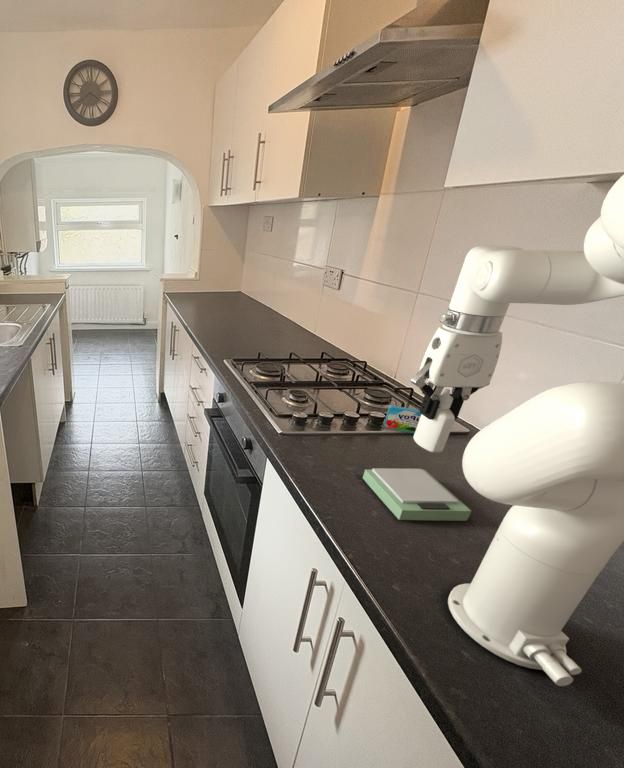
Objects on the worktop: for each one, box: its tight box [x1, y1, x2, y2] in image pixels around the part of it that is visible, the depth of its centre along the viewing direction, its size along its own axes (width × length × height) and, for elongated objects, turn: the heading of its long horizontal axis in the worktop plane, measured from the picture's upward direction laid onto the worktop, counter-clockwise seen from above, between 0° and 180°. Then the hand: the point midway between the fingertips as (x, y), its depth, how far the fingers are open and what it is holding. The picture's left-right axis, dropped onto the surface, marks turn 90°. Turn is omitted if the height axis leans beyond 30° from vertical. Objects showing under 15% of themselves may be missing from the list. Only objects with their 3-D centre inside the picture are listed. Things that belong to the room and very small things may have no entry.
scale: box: [362, 467, 472, 522], centre depth 85 cm, size 13×13×3 cm
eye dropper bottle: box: [413, 388, 455, 453], centre depth 78 cm, size 4×6×12 cm
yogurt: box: [383, 404, 421, 435], centre depth 108 cm, size 12×2×6 cm, turn 63°
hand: (437, 415), depth 78 cm, fingers closed on eye dropper bottle, 3 cm apart
